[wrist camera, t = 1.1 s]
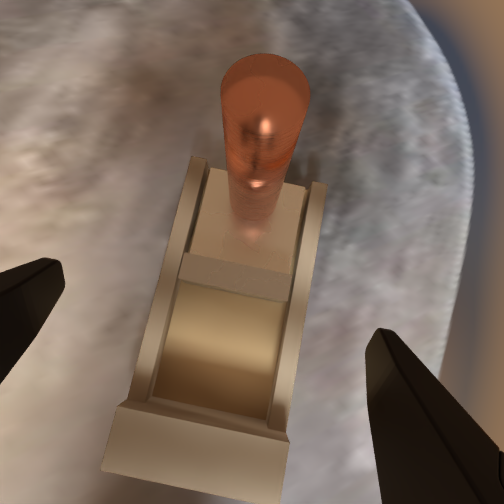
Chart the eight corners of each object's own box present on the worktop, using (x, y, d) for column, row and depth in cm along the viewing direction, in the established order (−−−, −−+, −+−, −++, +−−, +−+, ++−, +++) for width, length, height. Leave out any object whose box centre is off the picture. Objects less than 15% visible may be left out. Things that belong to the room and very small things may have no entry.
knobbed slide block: (281, 303, 21) (328, 287, 10) (185, 283, 21) (124, 244, 10) (301, 193, 22) (362, 72, 11) (212, 175, 22) (185, 36, 11)
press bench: (270, 467, 20) (278, 508, 16) (130, 437, 20) (99, 470, 16) (317, 200, 24) (334, 174, 20) (197, 175, 24) (187, 143, 20)
